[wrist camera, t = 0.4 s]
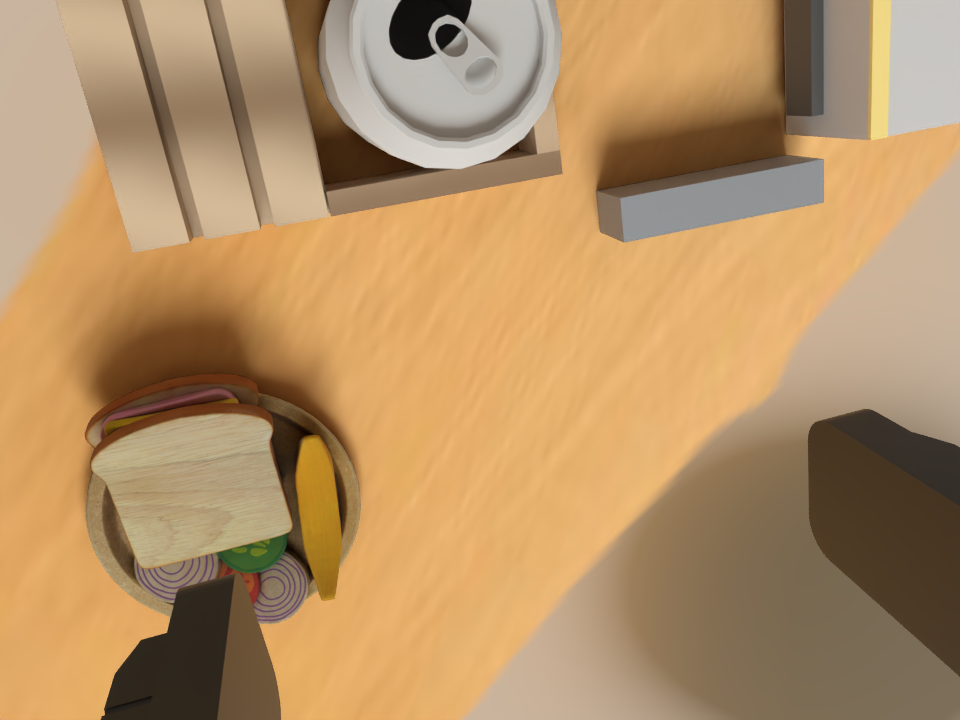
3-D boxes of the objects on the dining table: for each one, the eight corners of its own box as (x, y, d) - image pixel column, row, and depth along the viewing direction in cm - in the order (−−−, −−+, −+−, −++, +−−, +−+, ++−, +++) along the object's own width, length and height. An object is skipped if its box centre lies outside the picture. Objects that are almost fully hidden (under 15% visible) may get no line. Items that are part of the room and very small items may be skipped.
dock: (557, -202, 32) (613, -268, 27) (873, -236, 34) (988, -303, 29) (600, 232, 38) (653, 255, 33) (866, 179, 41) (960, 192, 35)
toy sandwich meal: (115, 628, 40) (92, 694, 35) (65, 373, 35) (33, 412, 31) (366, 592, 42) (374, 649, 38) (348, 350, 38) (355, 383, 33)
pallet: (59, -41, 30) (35, -55, 28) (510, -98, 33) (529, -116, 30) (143, 240, 34) (130, 253, 31) (542, 168, 37) (562, 173, 34)
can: (407, -76, 33) (464, -169, 21) (523, 68, 35) (628, 53, 24) (278, 54, 33) (268, 30, 22) (403, 186, 36) (451, 225, 25)
